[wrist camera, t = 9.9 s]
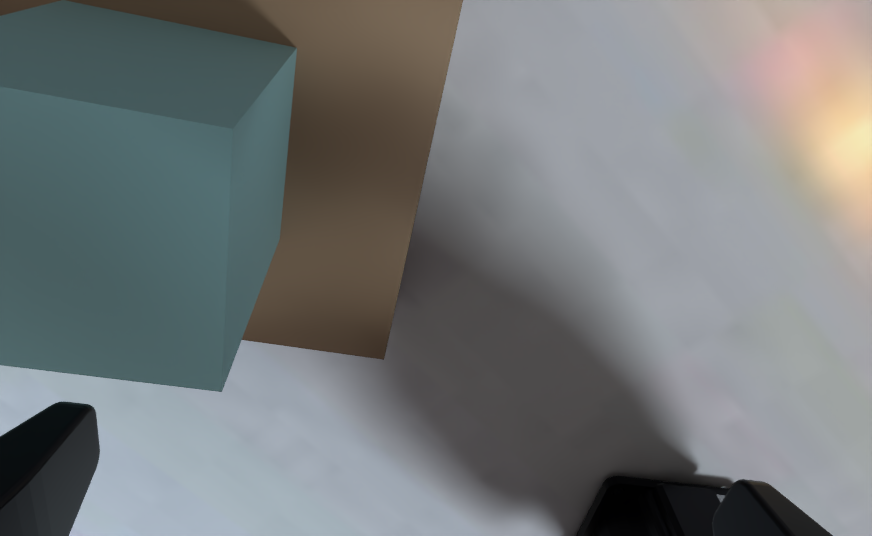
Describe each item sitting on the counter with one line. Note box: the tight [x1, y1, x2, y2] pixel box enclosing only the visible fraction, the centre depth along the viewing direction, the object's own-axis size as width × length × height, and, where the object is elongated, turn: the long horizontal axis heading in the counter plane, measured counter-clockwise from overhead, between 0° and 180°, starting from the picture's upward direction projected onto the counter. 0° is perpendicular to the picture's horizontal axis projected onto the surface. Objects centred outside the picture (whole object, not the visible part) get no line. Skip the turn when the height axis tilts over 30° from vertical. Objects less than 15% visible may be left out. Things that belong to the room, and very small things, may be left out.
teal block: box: [0, 0, 297, 392], centre depth 12 cm, size 5×5×6 cm
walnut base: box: [0, 0, 463, 359], centre depth 16 cm, size 12×12×3 cm
